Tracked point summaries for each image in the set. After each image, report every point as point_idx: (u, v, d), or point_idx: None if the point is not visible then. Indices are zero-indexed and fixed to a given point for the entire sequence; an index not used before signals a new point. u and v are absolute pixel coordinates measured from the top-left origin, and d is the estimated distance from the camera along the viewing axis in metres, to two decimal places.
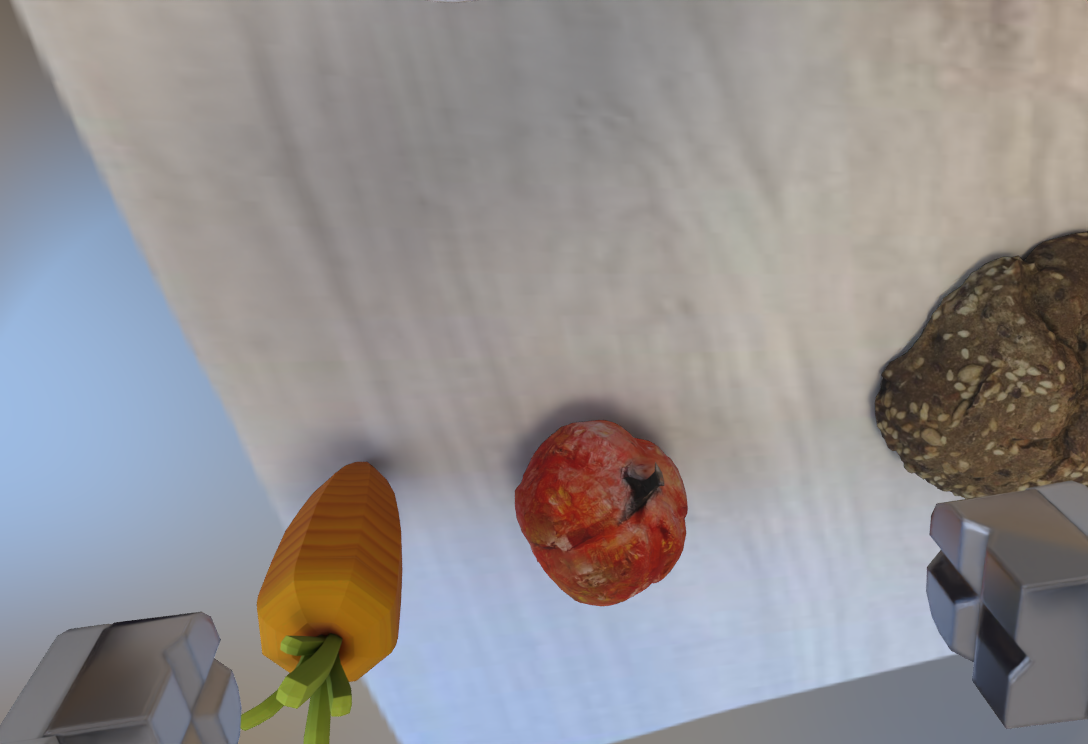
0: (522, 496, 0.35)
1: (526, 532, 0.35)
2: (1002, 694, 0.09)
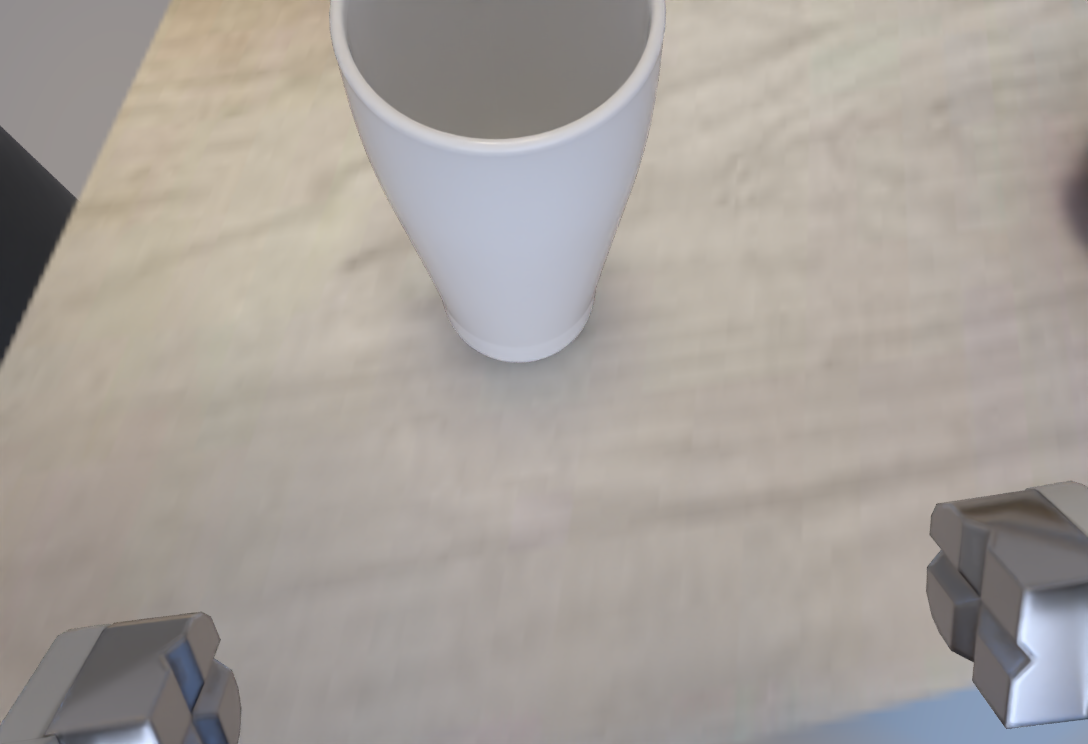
0: None
1: None
2: (1003, 694, 0.09)
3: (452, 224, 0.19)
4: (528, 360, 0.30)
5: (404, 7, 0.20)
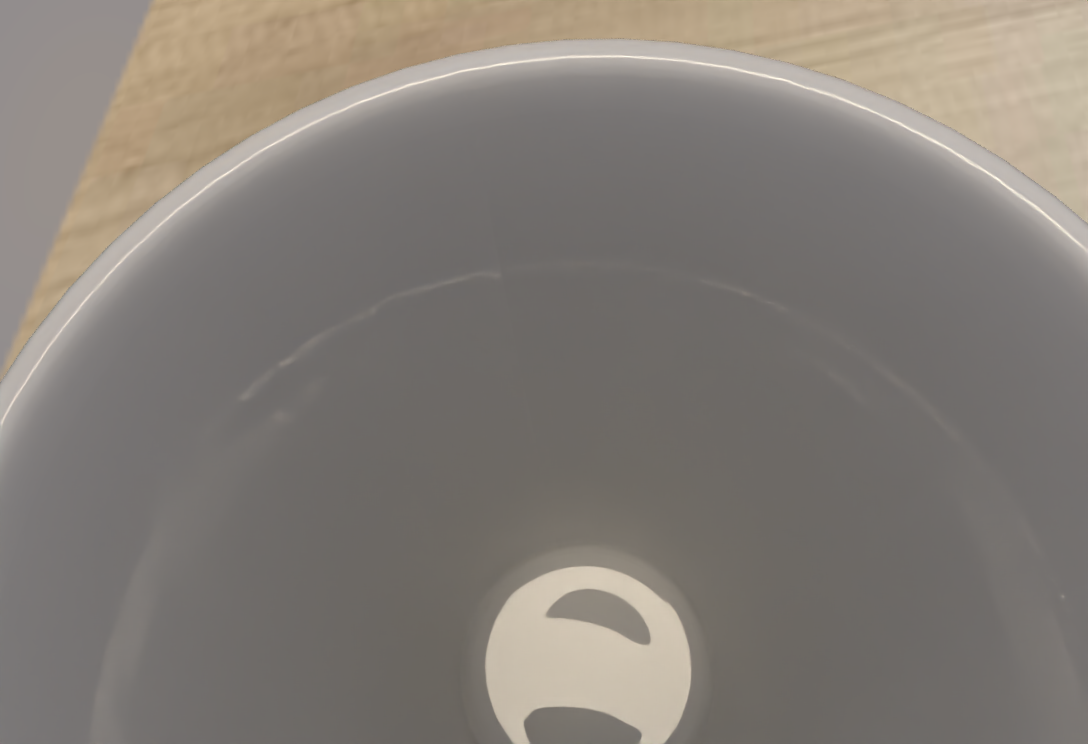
0: None
1: None
2: None
3: None
4: None
5: (282, 404, 0.07)
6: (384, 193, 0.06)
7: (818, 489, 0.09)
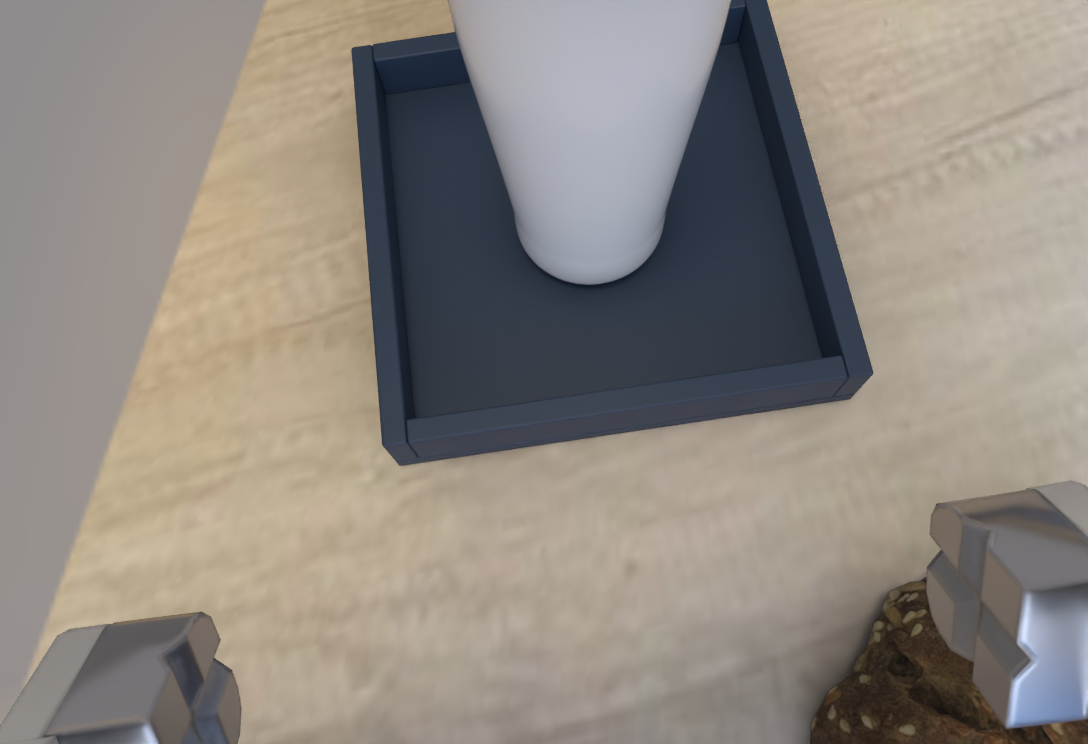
0: None
1: None
2: (1002, 693, 0.09)
3: (554, 94, 0.20)
4: (606, 280, 0.30)
5: None
6: None
7: None
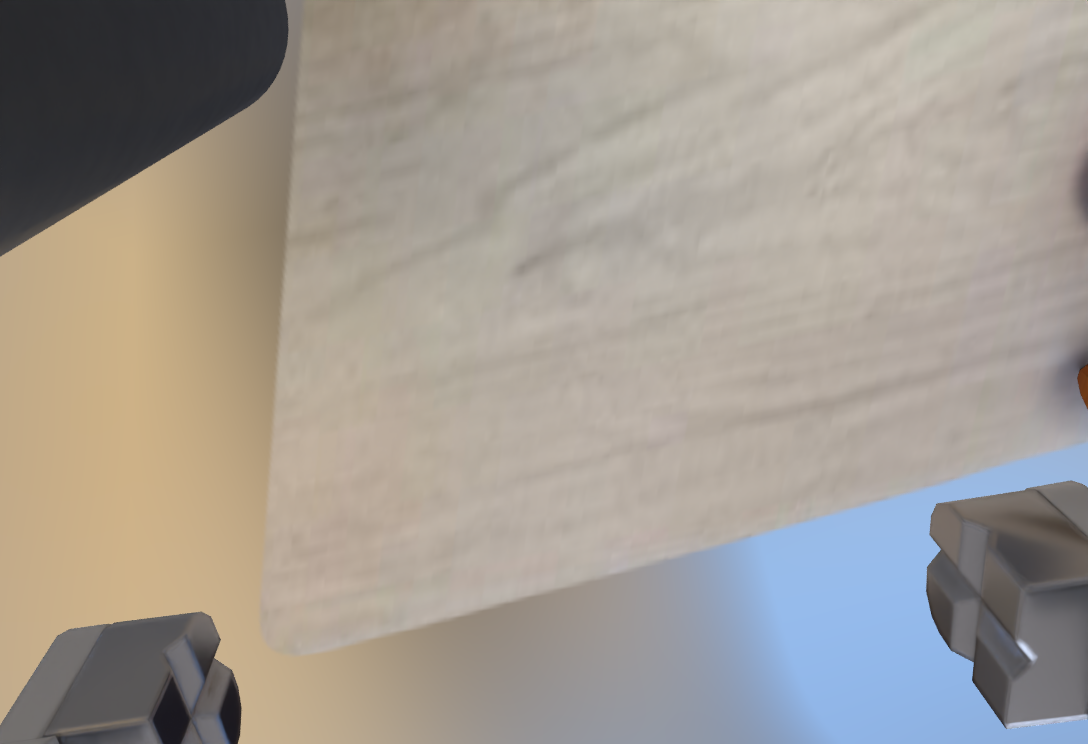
0: None
1: None
2: (1003, 694, 0.09)
3: None
4: None
5: None
6: None
7: None
